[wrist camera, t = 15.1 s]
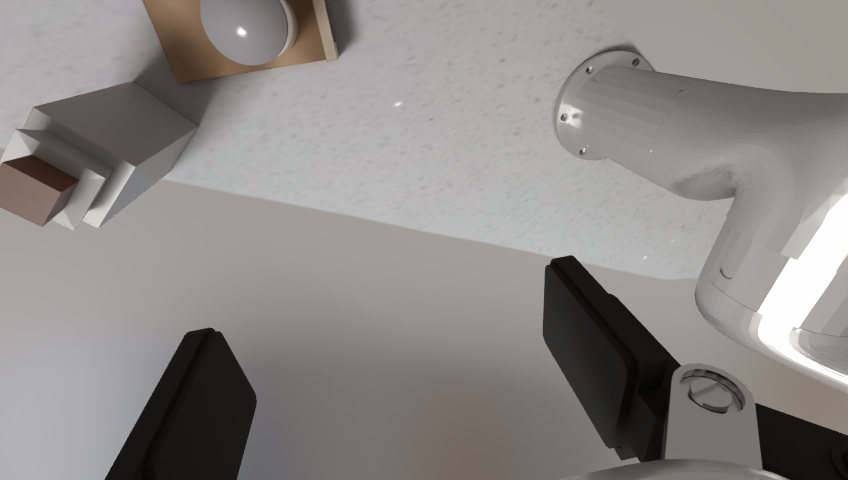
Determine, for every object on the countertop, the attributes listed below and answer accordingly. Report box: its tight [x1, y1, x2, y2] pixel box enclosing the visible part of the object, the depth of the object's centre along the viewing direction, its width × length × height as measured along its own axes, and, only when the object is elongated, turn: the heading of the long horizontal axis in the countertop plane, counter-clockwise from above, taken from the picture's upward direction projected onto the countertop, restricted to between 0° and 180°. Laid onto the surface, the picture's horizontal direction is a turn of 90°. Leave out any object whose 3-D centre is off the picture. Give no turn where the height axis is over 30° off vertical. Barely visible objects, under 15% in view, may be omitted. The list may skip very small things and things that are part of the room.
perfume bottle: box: [0, 81, 199, 231], centre depth 33 cm, size 7×7×18 cm
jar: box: [200, 0, 299, 65], centre depth 33 cm, size 6×6×8 cm
